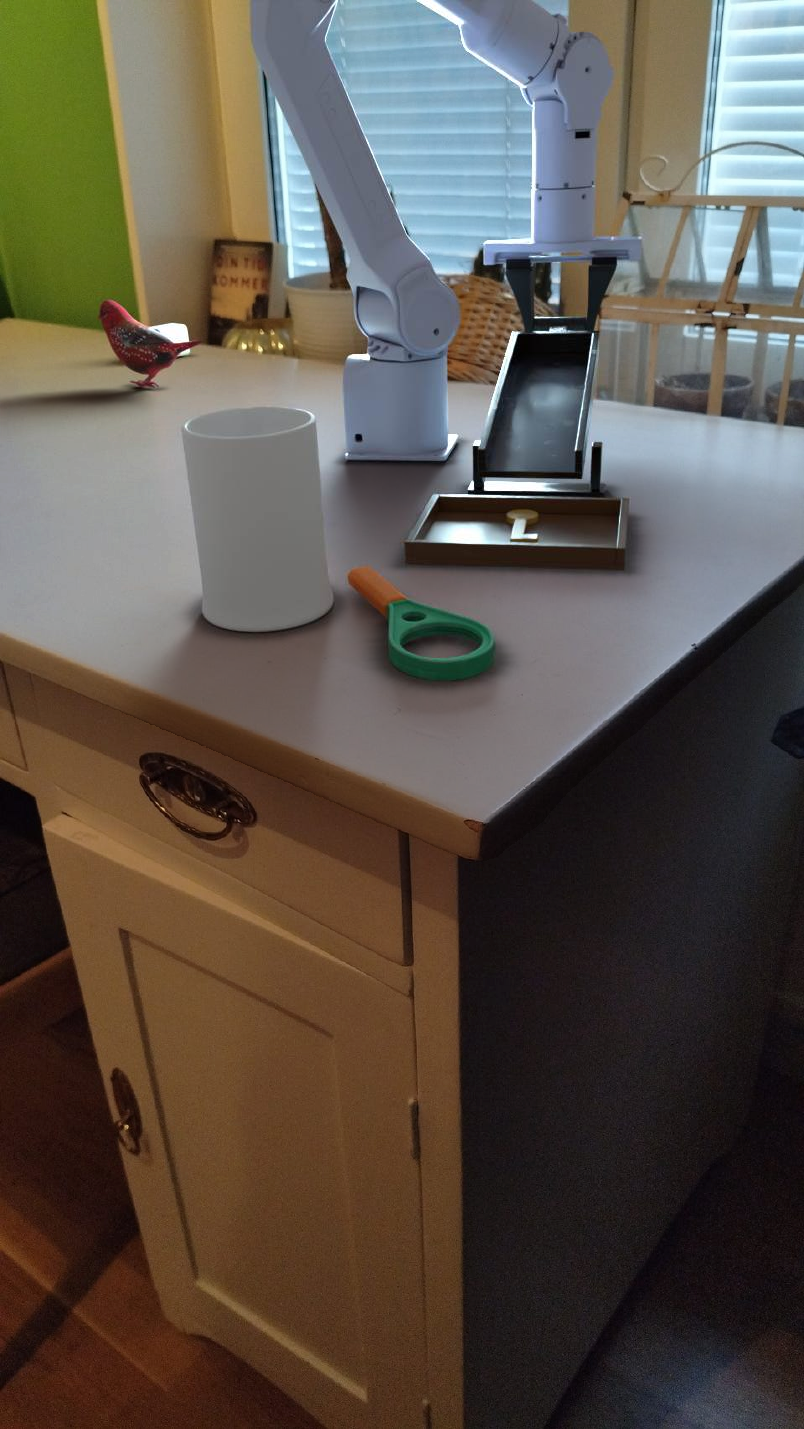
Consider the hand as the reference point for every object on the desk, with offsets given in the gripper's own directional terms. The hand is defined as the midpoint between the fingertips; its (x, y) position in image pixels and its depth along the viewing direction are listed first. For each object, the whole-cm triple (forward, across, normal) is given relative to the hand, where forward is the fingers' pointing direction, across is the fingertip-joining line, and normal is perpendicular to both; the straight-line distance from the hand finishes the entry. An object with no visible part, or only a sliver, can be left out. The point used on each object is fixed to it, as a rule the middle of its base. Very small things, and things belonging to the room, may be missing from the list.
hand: (560, 342), depth 107 cm
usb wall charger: (+6, +57, -35) cm, 68 cm away
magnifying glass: (+8, +5, +51) cm, 52 cm away
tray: (+8, 0, +34) cm, 35 cm away
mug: (+8, +16, +47) cm, 51 cm away
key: (+8, 0, +33) cm, 34 cm away
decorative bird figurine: (+8, +50, -17) cm, 53 cm away
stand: (+8, 0, +22) cm, 24 cm away
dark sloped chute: (+2, 0, +14) cm, 14 cm away
